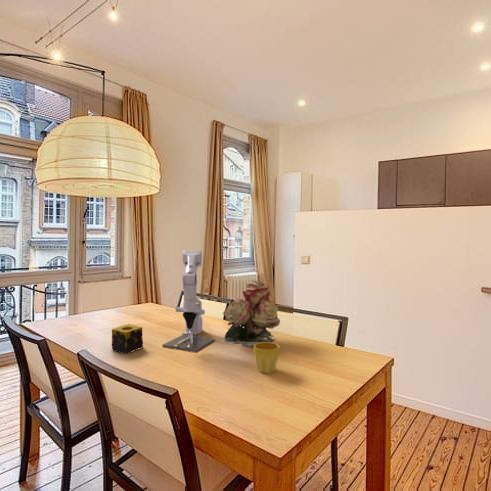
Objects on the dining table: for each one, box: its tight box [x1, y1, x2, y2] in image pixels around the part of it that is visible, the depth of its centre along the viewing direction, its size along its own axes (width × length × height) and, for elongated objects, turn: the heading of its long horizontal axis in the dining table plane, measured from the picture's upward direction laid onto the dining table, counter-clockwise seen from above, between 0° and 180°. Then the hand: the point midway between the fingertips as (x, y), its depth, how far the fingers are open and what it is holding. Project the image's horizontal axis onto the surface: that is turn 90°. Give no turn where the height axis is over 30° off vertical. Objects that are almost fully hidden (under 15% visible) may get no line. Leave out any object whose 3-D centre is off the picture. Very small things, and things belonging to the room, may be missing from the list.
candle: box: [111, 323, 144, 354], centre depth 164 cm, size 10×10×10 cm
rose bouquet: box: [222, 280, 281, 347], centre depth 178 cm, size 26×29×30 cm
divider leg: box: [187, 331, 195, 345], centre depth 172 cm, size 14×3×3 cm, turn 10°
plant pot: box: [253, 342, 281, 374], centre depth 140 cm, size 10×10×10 cm
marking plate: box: [162, 334, 215, 353], centre depth 172 cm, size 18×18×2 cm
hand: (189, 328), depth 165 cm, fingers closed
